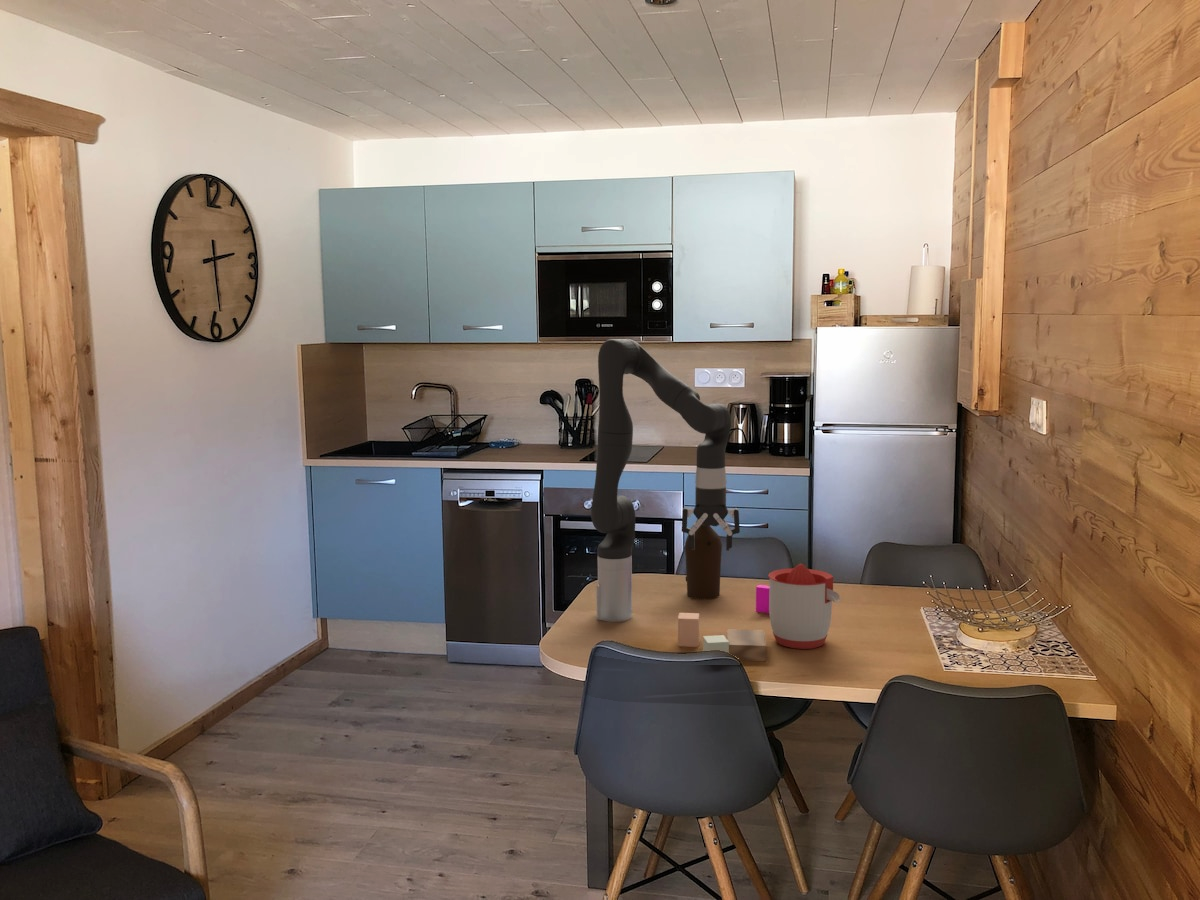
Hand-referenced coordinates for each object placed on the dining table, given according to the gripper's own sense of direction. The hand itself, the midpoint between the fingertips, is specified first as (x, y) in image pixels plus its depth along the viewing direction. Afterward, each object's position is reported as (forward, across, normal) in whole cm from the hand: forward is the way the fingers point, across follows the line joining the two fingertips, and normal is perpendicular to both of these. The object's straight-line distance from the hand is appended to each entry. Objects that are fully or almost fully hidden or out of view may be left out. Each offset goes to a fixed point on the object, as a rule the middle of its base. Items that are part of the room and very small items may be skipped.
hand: (710, 549), depth 236 cm
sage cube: (+23, +2, -15) cm, 27 cm away
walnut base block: (+23, +9, -9) cm, 26 cm away
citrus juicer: (+23, +23, -1) cm, 32 cm away
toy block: (+23, +18, +30) cm, 42 cm away
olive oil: (+23, -2, +39) cm, 46 cm away
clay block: (+23, -5, -4) cm, 24 cm away
